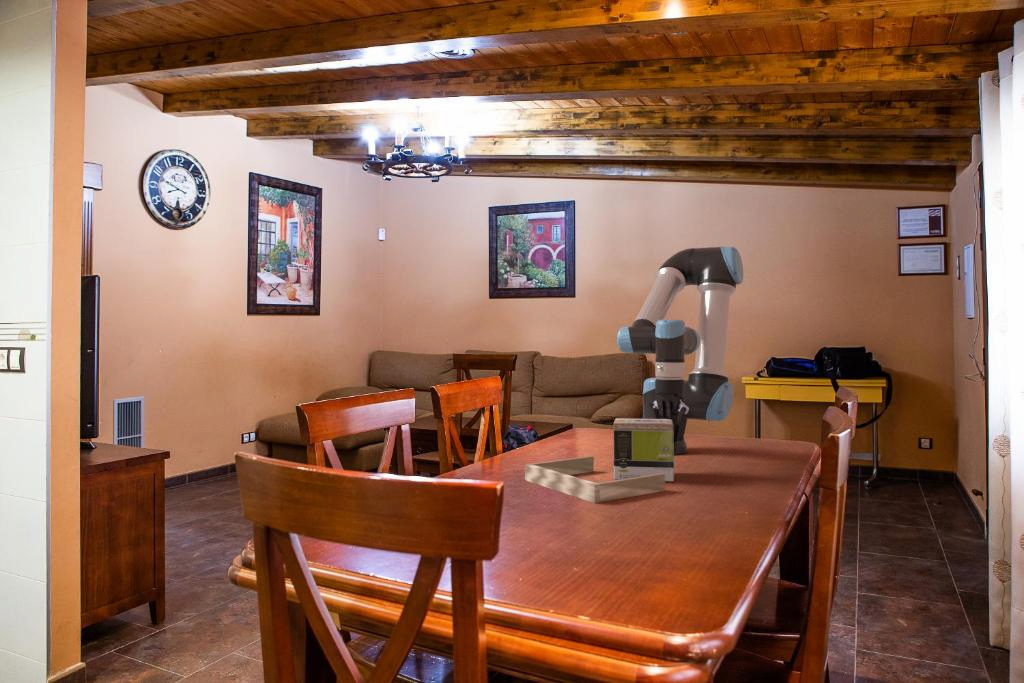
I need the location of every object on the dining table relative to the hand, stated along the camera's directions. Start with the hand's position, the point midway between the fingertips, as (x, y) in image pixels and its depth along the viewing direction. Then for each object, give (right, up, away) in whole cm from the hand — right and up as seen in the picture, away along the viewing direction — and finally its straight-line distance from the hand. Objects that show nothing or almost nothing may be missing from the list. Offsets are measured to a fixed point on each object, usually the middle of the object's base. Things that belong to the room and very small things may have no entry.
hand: (668, 467), depth 188 cm
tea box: (-8, -2, -5) cm, 9 cm away
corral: (-21, -2, -14) cm, 25 cm away
